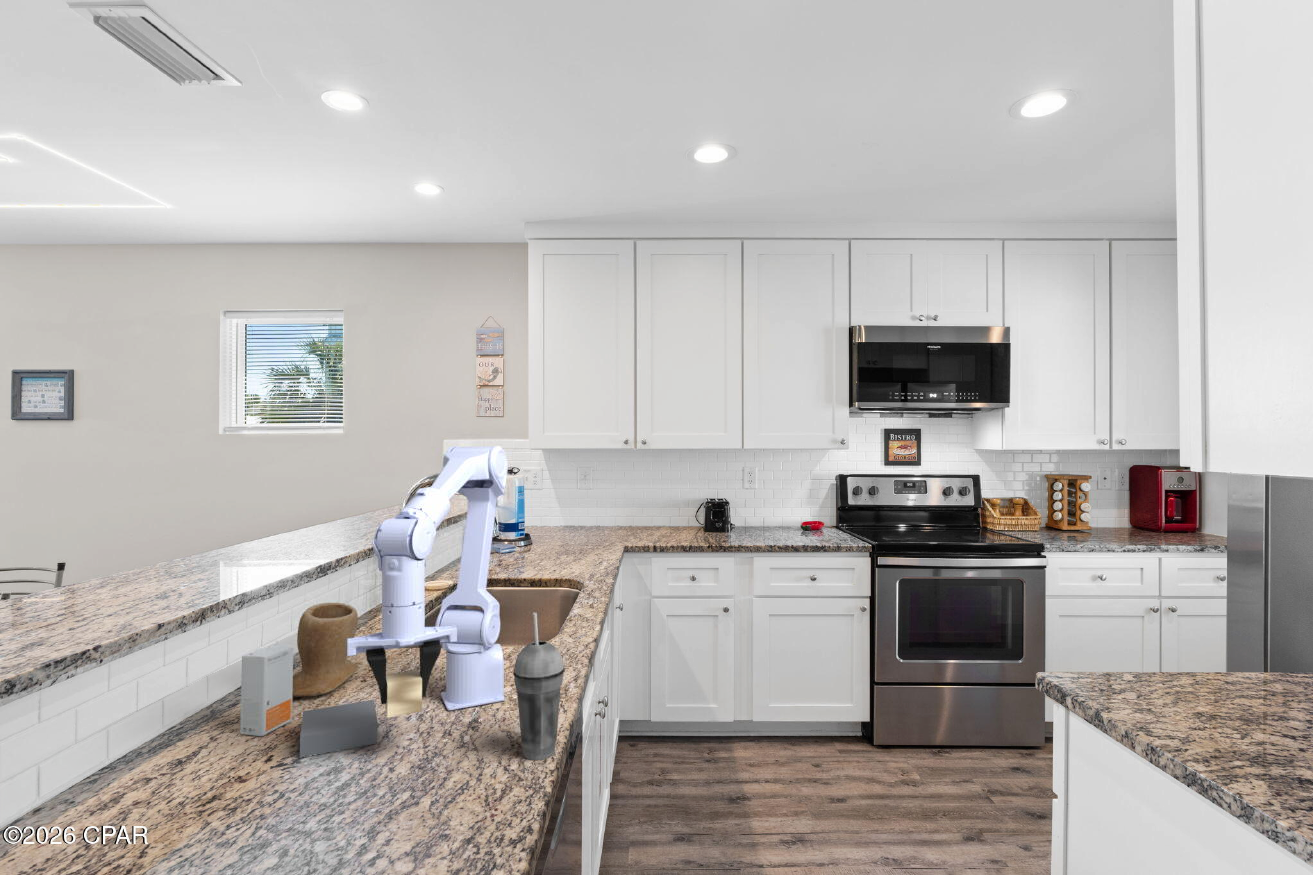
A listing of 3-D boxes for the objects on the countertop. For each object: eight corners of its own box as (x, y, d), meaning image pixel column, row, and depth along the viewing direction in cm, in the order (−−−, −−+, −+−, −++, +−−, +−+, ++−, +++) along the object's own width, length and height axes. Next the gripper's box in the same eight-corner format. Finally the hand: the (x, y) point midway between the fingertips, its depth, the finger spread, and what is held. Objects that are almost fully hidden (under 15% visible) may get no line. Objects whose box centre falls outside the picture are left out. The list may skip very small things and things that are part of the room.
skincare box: (263, 737, 96) (264, 657, 96) (239, 735, 97) (240, 655, 97) (293, 720, 102) (294, 645, 102) (271, 718, 103) (271, 644, 103)
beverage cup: (573, 745, 92) (573, 606, 93) (549, 768, 86) (549, 619, 86) (529, 738, 95) (529, 603, 95) (502, 760, 88) (502, 615, 89)
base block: (373, 718, 102) (373, 699, 102) (377, 743, 93) (377, 722, 94) (302, 730, 98) (303, 711, 98) (299, 758, 89) (300, 736, 89)
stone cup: (338, 701, 110) (338, 614, 110) (268, 702, 109) (269, 614, 110) (376, 671, 125) (376, 595, 125) (315, 672, 125) (315, 595, 125)
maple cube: (418, 700, 94) (418, 669, 94) (421, 711, 90) (422, 679, 90) (385, 706, 92) (385, 674, 92) (387, 717, 88) (387, 684, 88)
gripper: (347, 614, 84) (347, 718, 84) (460, 602, 91) (460, 698, 90) (346, 603, 90) (346, 700, 90) (452, 592, 97) (452, 682, 97)
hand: (403, 698), depth 91 cm, fingers closed on maple cube, 4 cm apart
